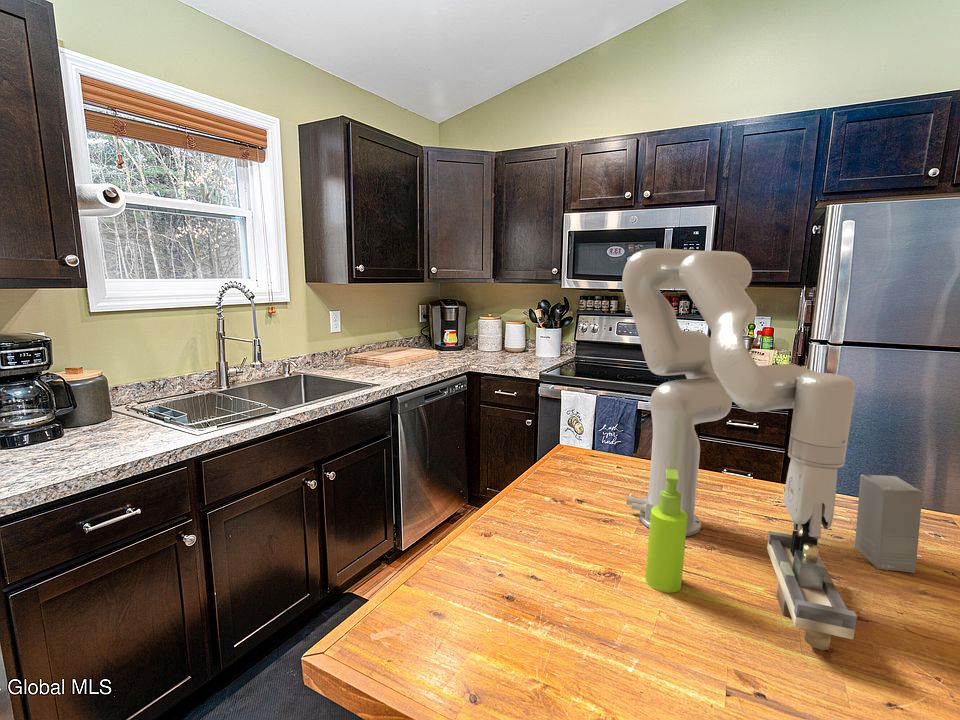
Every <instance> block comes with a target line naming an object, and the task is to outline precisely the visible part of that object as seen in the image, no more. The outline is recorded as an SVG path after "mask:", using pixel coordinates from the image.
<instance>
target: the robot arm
mask: <svg viewBox="0 0 960 720" xmlns="http://www.w3.org/2000/svg"><path fill="white" fill-rule="evenodd" d="M752 278H753V270H752V266H751V264H750V261H749V260H748V259H747V258H746V257H745V256H744V255H743V254H741V253H738V252H735V251H727V250H726V251H724V250H723V251H721V250H693V249H679V248H678V249H677V248H656V247H655V248H654V247H653V248H647V249H643V250H642V249H641V250H639V251H636V252H635V253H633V254H632V255H631V256H630V257H629V258H628V259H627V261H626V263H625V266H624V268H623V272H622V279H621V283H622V286H621V287H622V291H623V295H624V299H625V302H626V303H627V306H628V308H629V310H630V312H631V314H632V315H631V316H632V318H633V319H634V323H635V327H636V331H637V335H638V339H639V341H640V346H641V349H642V354H643V356H644V360H645V363H646V365H647V368H648V369H649V371H650V372H651V373H652V374H654V375H657V376H664V377H665V376H679V375H680V376H681V375H685V378H686V379H675V380H669V381H667V382H666V381H665V382H663V383H661V384H660V385H658V386H656V388H655V389H654V390H653V391H652V393H651V396H650V402H649V405H650V414H651V422H652V440H651V441H652V442H651V459H650V468H649V469H650V470H649V482H648V483H649V485H648V493H647V494H646V497H644V496H642V497H641V498H639V497H636V496H629V495H627V496H626V505H627V506H630V507H631V510H635V511H639V520H640V521H641V523H642V524H643V525H644V526H646V527H647V528H649V529H650V517H651V509H652V508H653V507H654V506H658V505H659V501H660V492H661V491H662V490H664V489H666V468H668V469H676V470H678V478H679V481H678V483H677V490H676V491H677V492H679V493H680V494H681V506H680V509H681V510H683V511H684V512H685V513H686V514H687V516H688V518H687V529H686V537H688V536H690V537H691V536H693V535H696V534H697V533H699V532H700V531H701V529H702V522H701V519H700V518H699V516H697V515H696V513H695V511H696V510H695V508H696V500H697V487H698V476H699V465H700V457H701V456H700V454H701V443H700V439H699V437H698V434H697V432H696V430H695V425H698V424H702V423H709V422H715V421H719V420H721V419H722V420H723V418H725V417H727V416H728V414H729V413H730V411H731V410H732V406H733V405H732V404H733V403H734V404H735V405H736V406H738V408H741V409H742V410H744V411H747V412H751V413H759V412H768V411H774V410H784V409H788V410H789V409H793V410H792V419H791V427H790V435H789V444H788V452H787V456H788V458H790V462H789V465H788V470H787V475H786V482H785V485H784V486H785V487H784V493H783V503H784V506H785V507H786V510H787V513H788V514H789V516H790V517H791V520H792V521H793V530H792V534H791V535H792V541H791V549H790V551H791V553H792V556H793V557H794V553H795V550H800V551H803V546H804V544H805V543H810V544H814V545H816V546H818V541H819V539H821V534H822V527H823V528H824V529H825V530H827V529H829V528H831V526H832V523H833V520H834V513H835V507H836V493H837V483H838V469H839V468H840V469H841V468H843V467H844V466H845V463H846V455H847V449H848V442H849V441H848V440H849V434H850V428H851V421H852V414H853V409H854V400H855V394H856V392H855V391H856V385H855V382H854V381H853V380H852V379H851V378H850V377H848V376H845V375H841V374H836V373H829V372H818V371H815V370H811V369H809V368H806V367H803V366H800V365H797V364H791V363H783V364H782V363H781V364H767V365H758V364H757V362H756V360H755V359H754V358H753V356H752V355H751V353H750V351H749V350H748V348H747V346H746V343H745V341H744V338H743V331H744V329H745V328H746V327H748V326H749V325H750V324H751V323H752V322H753V321H754V320H755V318H756V316H757V313H758V310H757V306H756V304H755V303H754V302H753V300H752V299H751V297H750V296H749V294H748V293H747V292H746V290H745V289H746V288H747V287H749V285H750V283H751V281H752ZM661 289H667V290H668V289H671V290H672V289H674V290H675V289H676V290H677V289H680V290H681V289H683V290H684V289H685V291H686V293H687V294H688V296H689V298H690V299H691V301H692V302H693V304H694V306H695V307H696V310H698V312H699V313H700V315H701V317H702V318H703V320H704V321H705V323H706V325H707V327H708V328H709V330H710V332H711V334H710V336H709V335H707V334H706V333H704V332H703V331H700V330H699V331H697V330H682V329H681V327H680V324H679V322H678V319H677V315H676V311H675V309H674V307H673V305H672V304H671V303H670V301H669V300H668V298H666V297H665V296H664V295H663V294H662V292H661Z"/></svg>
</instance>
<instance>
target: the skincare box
mask: <svg viewBox="0 0 960 720" xmlns="http://www.w3.org/2000/svg"><path fill="white" fill-rule="evenodd" d="M923 492H924V491H922V490H920V489H919V488H917V487H915V486H914V485H912V484H910V483H908V482H907V481H905V480H903V479H902V478H900V477H898V476H897V475H882V474H881V475H880V474H879V475H876V474H860V476H859V490H858V503H857V515H856V528H855V529H856V530H855V541H854V548H855V549H856V550H857V551H858V552H859V553H860V554H861V555H862V556H863V557H865V558H866V560H867V561H869V563H871V564H872V565H873V566H874V567H875V568H876V569H879V570H883V571H884V570H885V571H897V572H905V573H910V574H911V573H913V574H915V573H916V571H917V560H918V559H917V558H918V547H919V536H920V527H921V526H920V525H921V515H922V514H921V513H922V502H923V494H924V493H923Z"/></svg>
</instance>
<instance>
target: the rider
mask: <svg viewBox="0 0 960 720" xmlns="http://www.w3.org/2000/svg"><path fill="white" fill-rule="evenodd" d="M819 551H820V548H819V546H818V545H817V546H816V545H814V544H810V543H805V544H804V546H803V551H800V550H795V553H794V561H793V568H792V571H793V573H794V575H795V578H796V581H797V583H798V586H799V587H804V588H809V589H814V590H819V591H822V586H823V579H824V572H825V569H826V565H825V564H824V561H822V558H821V557H820V555H819Z"/></svg>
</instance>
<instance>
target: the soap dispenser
mask: <svg viewBox="0 0 960 720" xmlns="http://www.w3.org/2000/svg"><path fill="white" fill-rule="evenodd" d="M678 481H679V478H678V470H676V469H668V468H666V489H664V490H662V491H661V492H660V501H659V505H658V506H654V507H653V508H652V509H651V517H650V528H649V531H648V544H647V545H648V546H647V554H646V555H647V557H646V567H645V568H646V570H645V571H646V572H645V581H646V583H647V585H649V587H650V588H652V589H654V590H656V591H658V592H661V593H676V592H680V590H681V589H682V583H683V581H682V580H683V570H684V560H685V550H686V549H685V548H686V539H687V538H686V537H687V536H686V529H687V518H688V516H687V514H686V513H685V512H684V511H683V510H681V509H680V506H681V494H680V493H679V492H677V491H676V490H677V483H678Z"/></svg>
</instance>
